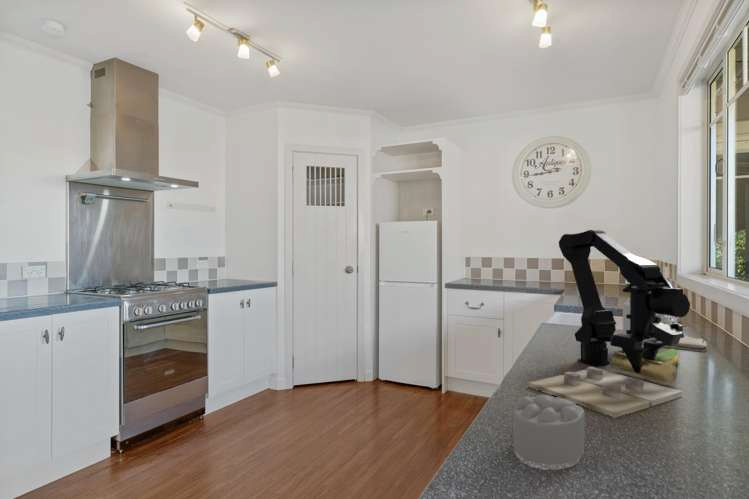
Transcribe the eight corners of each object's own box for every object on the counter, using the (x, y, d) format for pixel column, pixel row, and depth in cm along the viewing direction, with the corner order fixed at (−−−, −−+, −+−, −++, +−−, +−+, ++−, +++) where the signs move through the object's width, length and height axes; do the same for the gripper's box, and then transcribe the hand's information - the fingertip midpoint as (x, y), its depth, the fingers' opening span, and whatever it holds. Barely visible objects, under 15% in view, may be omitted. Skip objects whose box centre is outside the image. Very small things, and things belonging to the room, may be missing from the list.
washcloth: (708, 353, 139) (708, 344, 138) (642, 346, 149) (642, 337, 149) (706, 346, 148) (706, 337, 148) (644, 340, 159) (644, 331, 159)
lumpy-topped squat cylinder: (590, 448, 75) (590, 398, 75) (565, 479, 66) (565, 422, 65) (531, 431, 82) (531, 386, 82) (500, 457, 72) (500, 405, 72)
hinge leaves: (528, 387, 107) (528, 372, 107) (593, 371, 119) (593, 358, 119) (614, 418, 88) (614, 400, 88) (682, 396, 100) (682, 380, 99)
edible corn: (642, 357, 118) (661, 355, 115) (665, 347, 131) (682, 345, 128) (648, 377, 117) (667, 375, 113) (671, 365, 130) (688, 363, 127)
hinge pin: (611, 370, 118) (611, 353, 118) (621, 367, 120) (621, 351, 120) (666, 384, 105) (666, 366, 105) (677, 381, 108) (676, 363, 107)
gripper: (654, 319, 101) (654, 386, 101) (697, 312, 110) (697, 374, 110) (608, 312, 111) (609, 373, 111) (651, 306, 120) (651, 363, 120)
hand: (642, 371), depth 113 cm, fingers closed on hinge pin, 4 cm apart
